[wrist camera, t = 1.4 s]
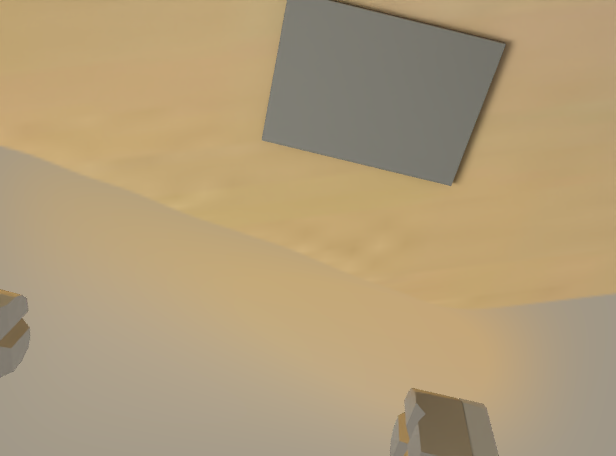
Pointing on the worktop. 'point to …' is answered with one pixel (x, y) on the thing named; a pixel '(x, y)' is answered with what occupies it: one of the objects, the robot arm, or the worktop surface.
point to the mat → (377, 88)
